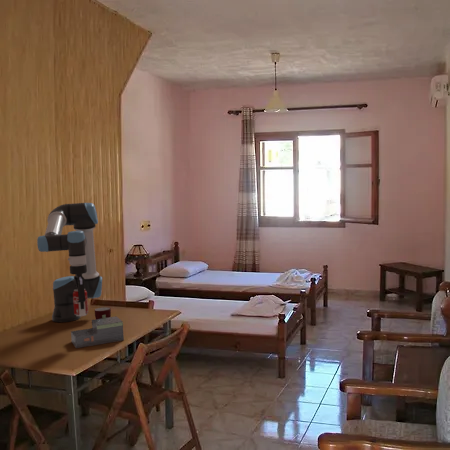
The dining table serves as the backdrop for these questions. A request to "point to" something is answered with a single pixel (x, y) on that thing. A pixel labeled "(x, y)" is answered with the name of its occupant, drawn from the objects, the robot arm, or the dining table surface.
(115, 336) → the stand
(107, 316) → the mug
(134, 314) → the dining table surface
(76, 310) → the beverage can
